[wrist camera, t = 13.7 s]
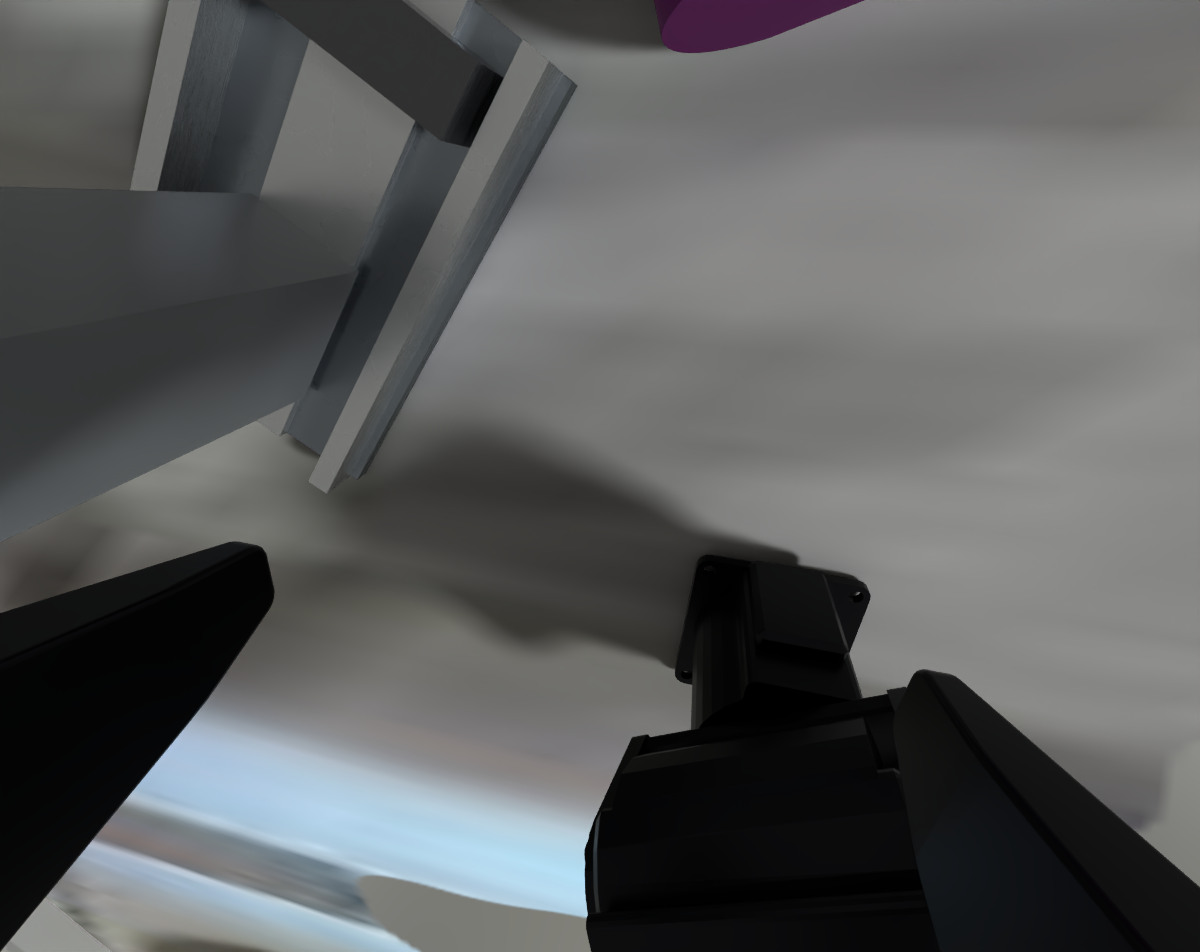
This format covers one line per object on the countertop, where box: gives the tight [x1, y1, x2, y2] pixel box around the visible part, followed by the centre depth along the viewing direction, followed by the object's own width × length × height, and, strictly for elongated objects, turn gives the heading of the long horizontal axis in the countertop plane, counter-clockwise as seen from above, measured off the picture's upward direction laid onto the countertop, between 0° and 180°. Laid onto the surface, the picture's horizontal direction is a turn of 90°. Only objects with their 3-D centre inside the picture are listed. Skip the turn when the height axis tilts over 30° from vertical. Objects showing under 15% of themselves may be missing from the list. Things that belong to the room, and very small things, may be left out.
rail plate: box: [130, 0, 577, 494], centre depth 17 cm, size 16×10×3 cm, turn 145°
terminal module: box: [0, 187, 359, 542], centre depth 13 cm, size 5×6×13 cm
